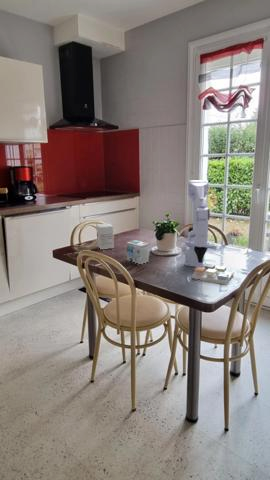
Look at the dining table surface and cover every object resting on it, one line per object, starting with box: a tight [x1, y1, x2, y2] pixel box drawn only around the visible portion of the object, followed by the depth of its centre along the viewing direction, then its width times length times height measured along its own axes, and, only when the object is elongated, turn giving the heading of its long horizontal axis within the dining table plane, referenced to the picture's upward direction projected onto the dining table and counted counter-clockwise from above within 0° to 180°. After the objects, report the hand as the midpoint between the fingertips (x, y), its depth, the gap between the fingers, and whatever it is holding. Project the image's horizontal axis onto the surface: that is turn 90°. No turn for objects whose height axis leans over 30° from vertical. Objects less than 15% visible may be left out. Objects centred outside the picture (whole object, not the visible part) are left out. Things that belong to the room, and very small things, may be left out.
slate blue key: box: [217, 273, 229, 280], centre depth 150 cm, size 4×4×2 cm
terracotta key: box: [193, 266, 206, 274], centre depth 155 cm, size 4×4×2 cm
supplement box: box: [96, 222, 115, 249], centre depth 204 cm, size 9×9×15 cm
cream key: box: [206, 268, 217, 275], centre depth 152 cm, size 4×4×2 cm
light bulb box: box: [126, 239, 150, 265], centre depth 178 cm, size 11×7×11 cm, turn 45°
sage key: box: [215, 265, 227, 272], centre depth 156 cm, size 4×4×2 cm
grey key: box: [203, 263, 216, 270], centre depth 159 cm, size 4×4×2 cm
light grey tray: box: [191, 266, 235, 285], centre depth 155 cm, size 16×13×2 cm
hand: (200, 262), depth 154 cm, fingers closed
